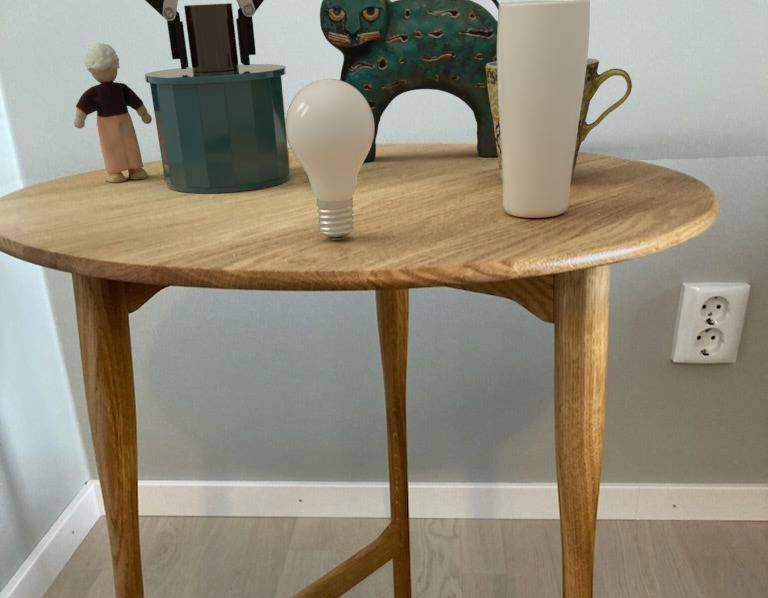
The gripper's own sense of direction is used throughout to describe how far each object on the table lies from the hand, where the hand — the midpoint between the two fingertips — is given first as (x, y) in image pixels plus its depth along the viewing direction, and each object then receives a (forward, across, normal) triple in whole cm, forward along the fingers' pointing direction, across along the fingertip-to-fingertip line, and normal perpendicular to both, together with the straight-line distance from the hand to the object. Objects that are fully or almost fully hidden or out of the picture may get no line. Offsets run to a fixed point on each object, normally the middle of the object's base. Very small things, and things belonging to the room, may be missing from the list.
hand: (215, 63), depth 87 cm
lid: (+1, 0, 0) cm, 1 cm away
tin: (+11, 0, 0) cm, 11 cm away
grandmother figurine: (+11, -11, +6) cm, 16 cm away
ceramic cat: (+11, +21, +6) cm, 24 cm away
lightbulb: (+11, +7, -28) cm, 31 cm away
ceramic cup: (+11, +30, -12) cm, 34 cm away
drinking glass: (+11, +24, -25) cm, 36 cm away
